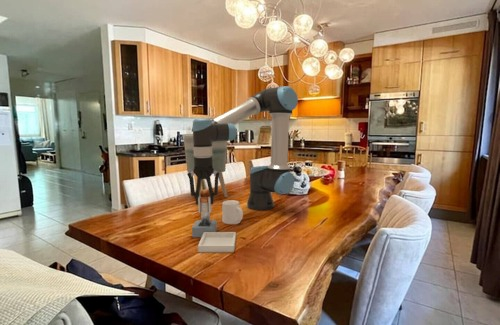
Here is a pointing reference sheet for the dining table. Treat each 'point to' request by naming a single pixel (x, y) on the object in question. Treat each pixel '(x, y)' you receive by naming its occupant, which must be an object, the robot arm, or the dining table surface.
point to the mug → (231, 212)
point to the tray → (217, 242)
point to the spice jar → (205, 211)
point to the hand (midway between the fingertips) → (205, 211)
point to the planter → (217, 156)
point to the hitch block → (203, 228)
